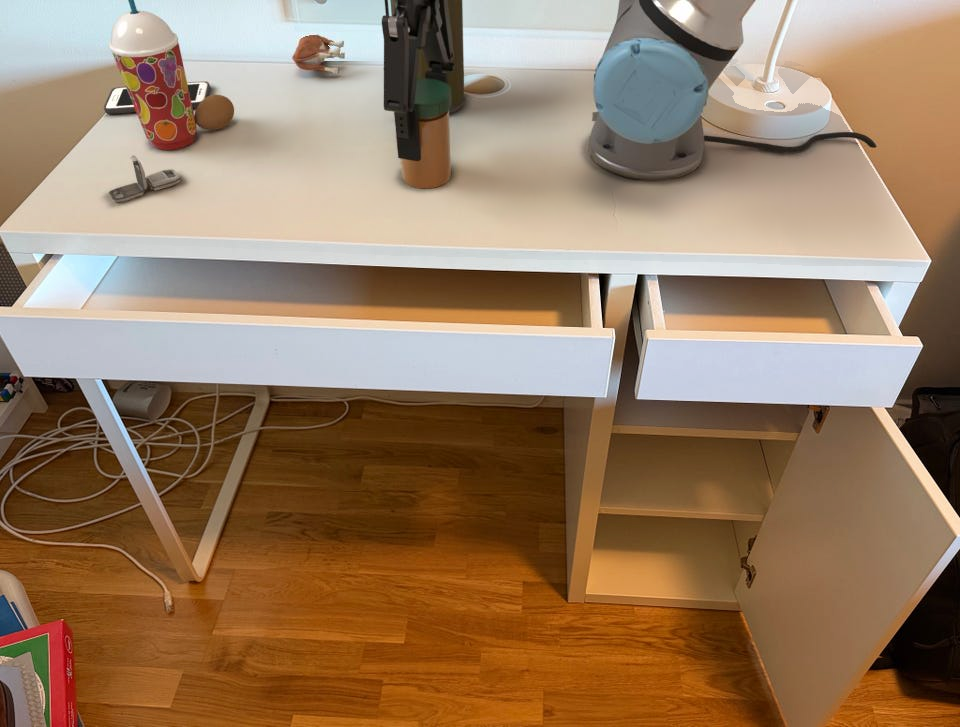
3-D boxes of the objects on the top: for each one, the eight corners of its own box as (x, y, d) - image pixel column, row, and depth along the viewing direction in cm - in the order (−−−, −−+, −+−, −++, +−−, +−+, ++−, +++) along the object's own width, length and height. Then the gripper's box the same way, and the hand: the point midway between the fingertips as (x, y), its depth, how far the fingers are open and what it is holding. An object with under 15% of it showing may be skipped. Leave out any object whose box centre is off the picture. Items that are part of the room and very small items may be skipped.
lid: (463, 107, 91) (463, 92, 90) (415, 124, 88) (415, 109, 87) (428, 87, 95) (428, 73, 94) (381, 103, 92) (380, 88, 91)
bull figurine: (347, 24, 126) (298, 18, 125) (337, 55, 116) (283, 48, 115) (347, 50, 129) (299, 44, 128) (337, 83, 119) (285, 76, 118)
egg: (219, 95, 109) (184, 116, 107) (222, 82, 105) (186, 104, 103) (239, 121, 110) (205, 142, 108) (243, 109, 106) (208, 131, 104)
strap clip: (174, 173, 99) (164, 143, 96) (182, 182, 97) (172, 152, 94) (109, 194, 95) (96, 164, 92) (116, 204, 93) (103, 173, 91)
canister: (469, 88, 117) (467, -54, 103) (461, 118, 110) (458, -30, 96) (400, 85, 118) (389, -56, 104) (388, 115, 111) (374, -32, 97)
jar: (456, 166, 100) (454, 89, 93) (443, 191, 95) (439, 112, 88) (411, 160, 101) (405, 84, 94) (395, 185, 97) (388, 106, 89)
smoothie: (174, 122, 109) (129, -27, 96) (217, 134, 107) (177, -17, 93) (129, 146, 104) (75, -7, 90) (174, 160, 101) (125, 4, 87)
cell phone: (113, 93, 116) (111, 87, 116) (211, 86, 118) (209, 80, 117) (104, 115, 111) (101, 109, 110) (206, 108, 113) (205, 101, 112)
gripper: (418, -87, 87) (428, 99, 103) (333, -30, 73) (360, 177, 88) (479, -82, 86) (480, 106, 101) (405, -23, 71) (420, 188, 86)
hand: (424, 139), depth 95 cm, fingers open, 9 cm apart
